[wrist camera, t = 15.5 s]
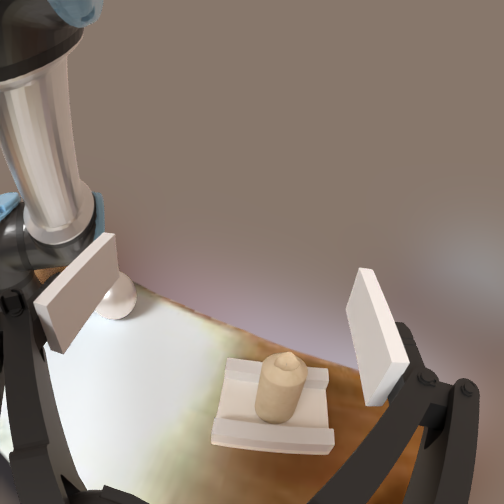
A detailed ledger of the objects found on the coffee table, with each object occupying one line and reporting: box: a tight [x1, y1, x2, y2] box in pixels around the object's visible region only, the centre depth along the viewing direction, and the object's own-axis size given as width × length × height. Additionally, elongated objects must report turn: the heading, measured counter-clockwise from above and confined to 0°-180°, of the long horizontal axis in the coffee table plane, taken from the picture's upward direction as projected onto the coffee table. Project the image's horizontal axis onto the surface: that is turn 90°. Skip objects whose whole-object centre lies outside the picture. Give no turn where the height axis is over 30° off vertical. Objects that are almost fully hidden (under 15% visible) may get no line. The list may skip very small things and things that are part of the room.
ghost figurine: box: [95, 271, 137, 320], centre depth 52 cm, size 9×10×10 cm
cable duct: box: [211, 357, 335, 455], centre depth 39 cm, size 15×13×3 cm
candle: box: [255, 352, 308, 424], centre depth 37 cm, size 6×6×10 cm
